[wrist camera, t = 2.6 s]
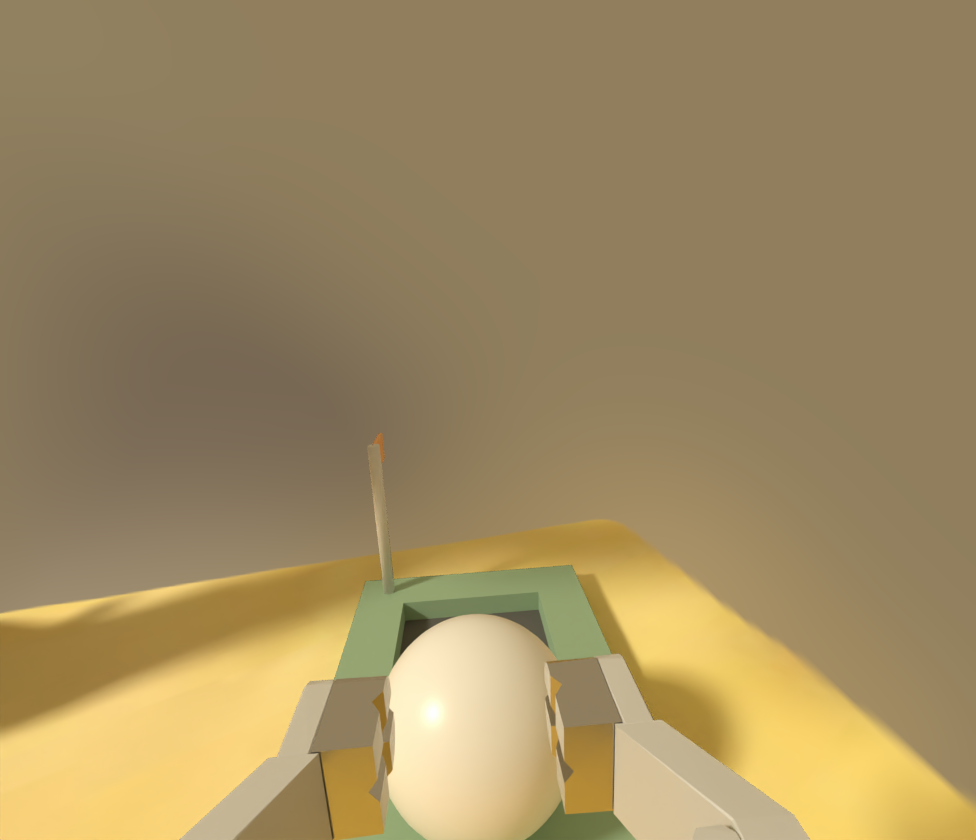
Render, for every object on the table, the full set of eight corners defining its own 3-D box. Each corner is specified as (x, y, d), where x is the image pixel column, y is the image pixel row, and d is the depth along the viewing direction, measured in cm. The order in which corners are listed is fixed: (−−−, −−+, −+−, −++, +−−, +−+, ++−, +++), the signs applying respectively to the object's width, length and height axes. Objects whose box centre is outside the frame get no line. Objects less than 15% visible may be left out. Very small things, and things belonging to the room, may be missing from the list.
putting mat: (753, 1018, 19) (796, 667, 15) (224, 1088, 18) (125, 729, 14) (567, 572, 50) (566, 421, 46) (371, 587, 49) (353, 434, 45)
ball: (346, 813, 25) (321, 648, 23) (476, 693, 32) (467, 559, 30) (492, 982, 19) (478, 775, 16) (614, 785, 26) (617, 622, 23)
